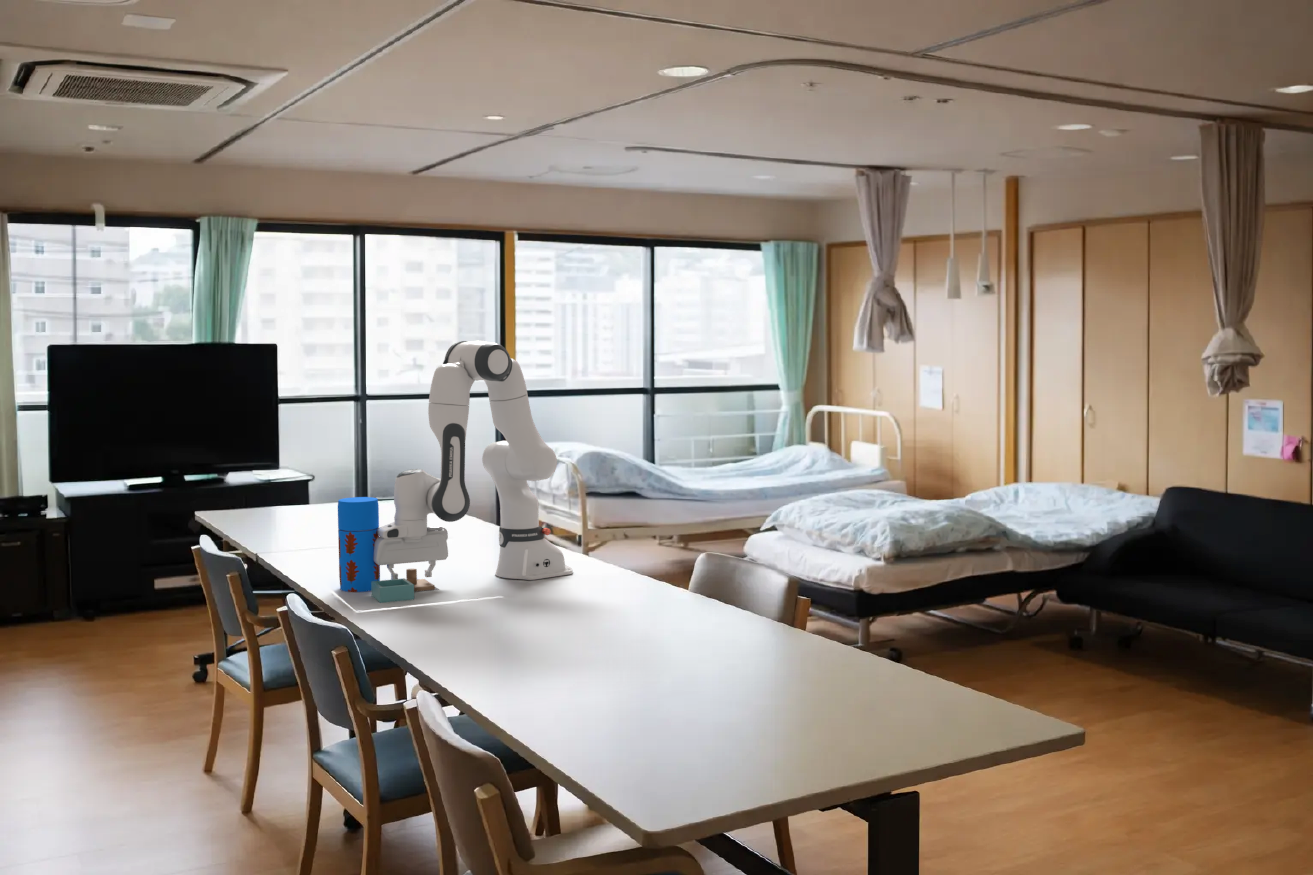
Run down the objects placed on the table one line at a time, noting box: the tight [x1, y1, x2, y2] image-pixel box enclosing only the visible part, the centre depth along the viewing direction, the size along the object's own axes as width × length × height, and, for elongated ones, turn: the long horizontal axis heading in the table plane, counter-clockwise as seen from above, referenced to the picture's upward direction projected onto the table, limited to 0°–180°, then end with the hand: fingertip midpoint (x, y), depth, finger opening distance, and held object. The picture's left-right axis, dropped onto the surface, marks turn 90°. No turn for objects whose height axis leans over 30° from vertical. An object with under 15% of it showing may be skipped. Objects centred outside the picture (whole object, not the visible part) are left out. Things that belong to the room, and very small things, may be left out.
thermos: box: [337, 496, 381, 593], centre depth 327 cm, size 11×11×25 cm
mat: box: [414, 586, 440, 593], centre depth 329 cm, size 12×12×1 cm
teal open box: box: [370, 577, 415, 604], centre depth 316 cm, size 9×9×4 cm
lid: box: [405, 568, 436, 592], centre depth 329 cm, size 10×10×5 cm
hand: (411, 578), depth 329 cm, fingers open, 8 cm apart
